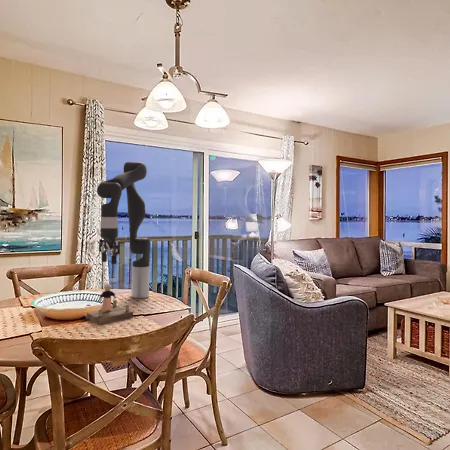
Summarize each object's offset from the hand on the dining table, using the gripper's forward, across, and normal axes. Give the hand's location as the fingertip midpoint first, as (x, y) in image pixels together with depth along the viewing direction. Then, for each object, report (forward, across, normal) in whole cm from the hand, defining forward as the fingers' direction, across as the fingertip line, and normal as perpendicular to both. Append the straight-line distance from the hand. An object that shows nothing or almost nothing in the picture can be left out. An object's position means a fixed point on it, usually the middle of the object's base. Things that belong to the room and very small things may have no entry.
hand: (109, 262), depth 161 cm
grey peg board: (+24, -1, +1) cm, 24 cm away
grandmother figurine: (+22, -1, +1) cm, 22 cm away
